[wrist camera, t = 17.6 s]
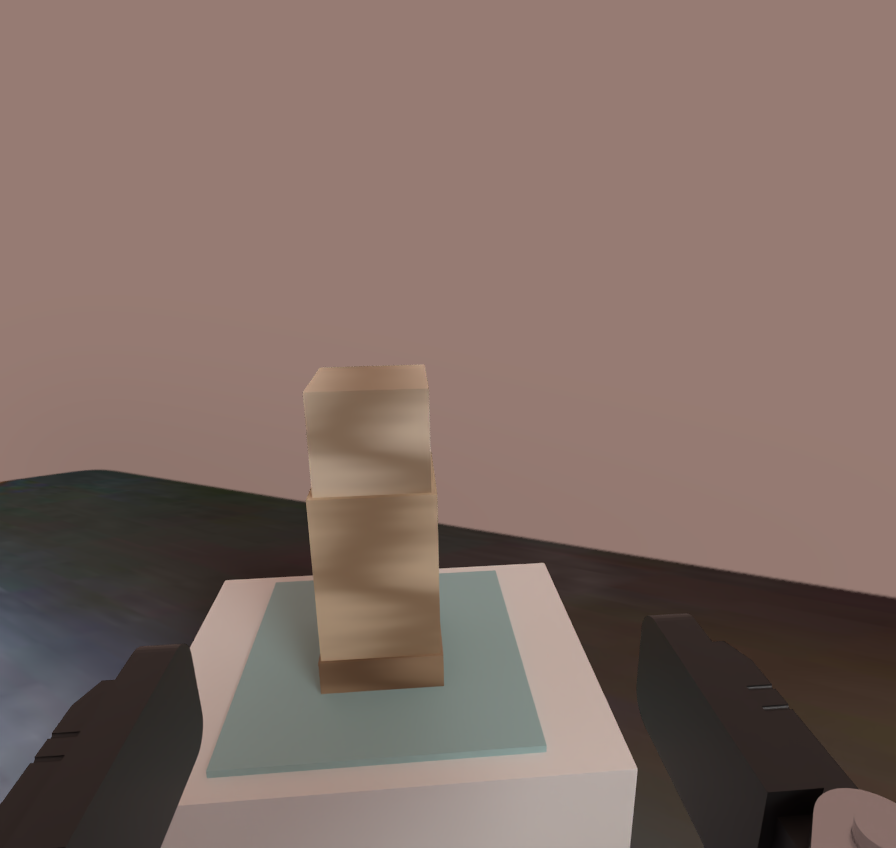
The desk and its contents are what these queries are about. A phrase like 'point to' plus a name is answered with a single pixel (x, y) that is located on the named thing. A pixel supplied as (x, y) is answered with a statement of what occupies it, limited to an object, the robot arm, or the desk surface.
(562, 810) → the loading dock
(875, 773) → the desk surface
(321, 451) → the wooden block tower
